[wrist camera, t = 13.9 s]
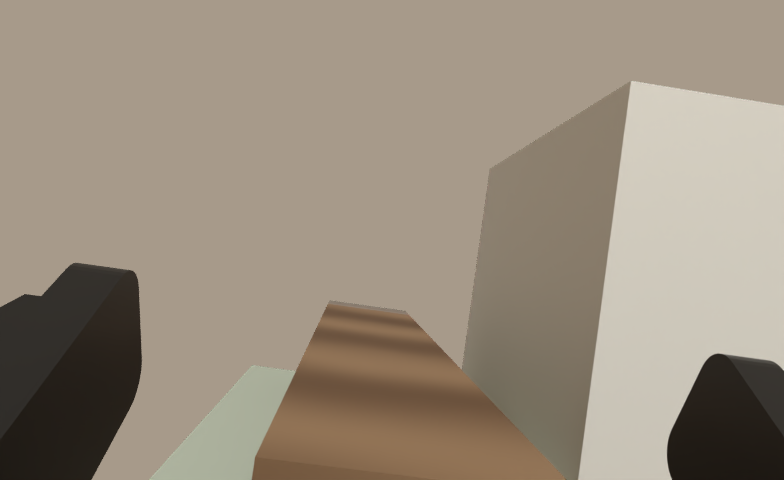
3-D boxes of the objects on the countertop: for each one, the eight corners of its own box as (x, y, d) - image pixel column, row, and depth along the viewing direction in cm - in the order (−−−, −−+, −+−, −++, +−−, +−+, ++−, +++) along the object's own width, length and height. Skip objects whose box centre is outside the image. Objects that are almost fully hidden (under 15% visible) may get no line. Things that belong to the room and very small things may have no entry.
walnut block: (540, 833, 7) (584, 497, 7) (203, 802, 7) (255, 456, 7) (394, 386, 30) (405, 310, 30) (318, 376, 30) (329, 300, 30)
